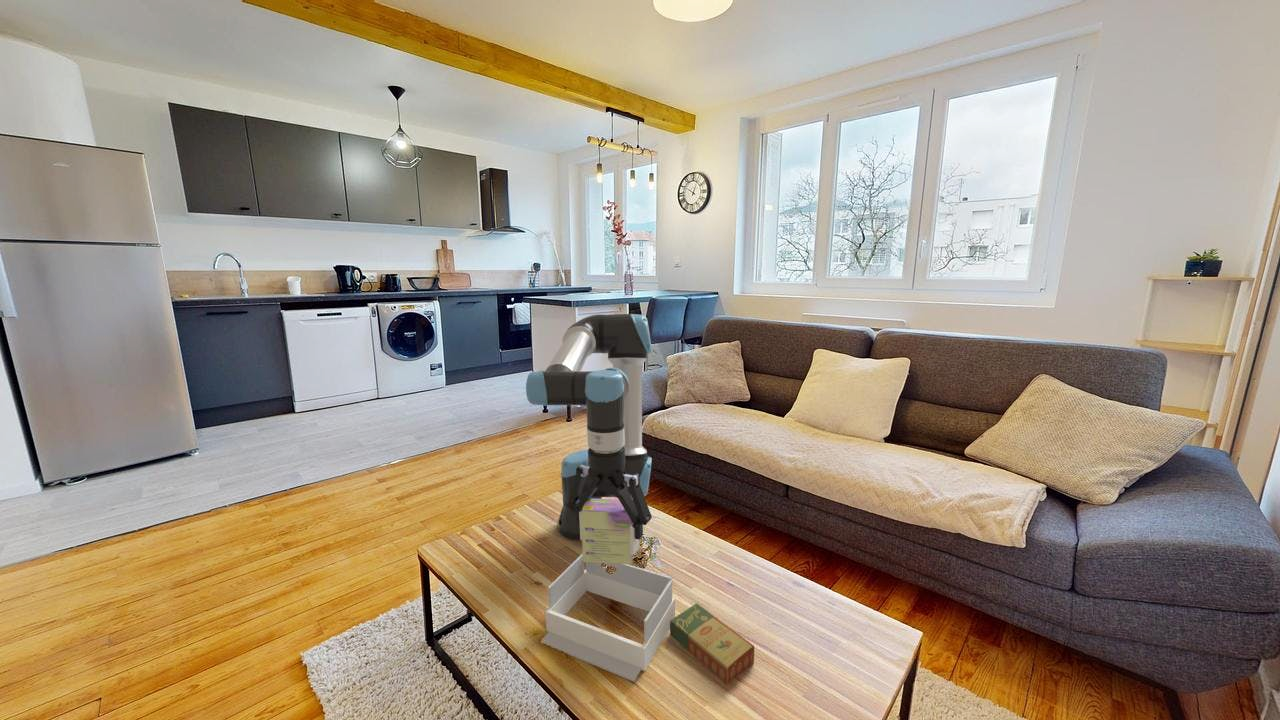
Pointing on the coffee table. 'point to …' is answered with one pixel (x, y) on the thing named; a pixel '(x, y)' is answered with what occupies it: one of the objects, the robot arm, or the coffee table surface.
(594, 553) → the box
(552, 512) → the coffee table surface
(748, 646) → the carton
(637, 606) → the open crate
